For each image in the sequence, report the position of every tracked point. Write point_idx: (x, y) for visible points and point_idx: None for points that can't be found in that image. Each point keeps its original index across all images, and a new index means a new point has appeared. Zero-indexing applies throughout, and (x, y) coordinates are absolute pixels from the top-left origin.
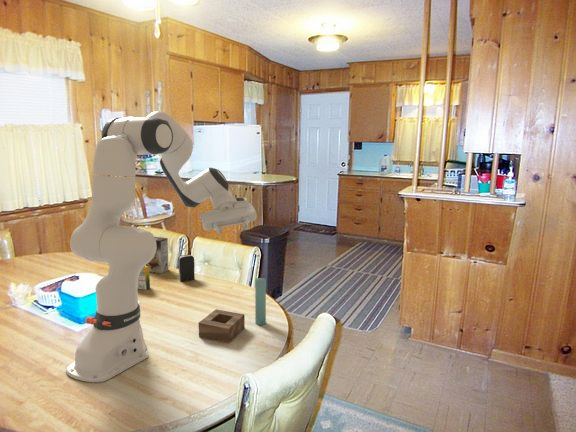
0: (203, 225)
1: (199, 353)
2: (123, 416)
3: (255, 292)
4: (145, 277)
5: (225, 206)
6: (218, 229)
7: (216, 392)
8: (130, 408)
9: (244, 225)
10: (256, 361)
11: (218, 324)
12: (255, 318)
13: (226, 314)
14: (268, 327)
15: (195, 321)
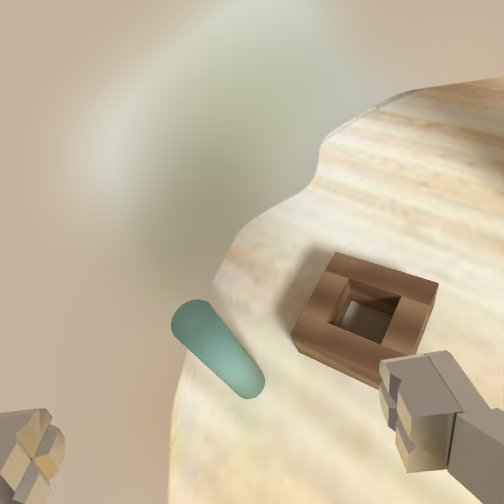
0: None
1: (407, 235)
2: (481, 93)
3: (231, 336)
4: None
5: None
6: (445, 365)
7: (346, 144)
8: (479, 104)
9: (35, 409)
10: (278, 215)
11: (368, 272)
12: (260, 375)
13: (351, 336)
14: None
15: None
